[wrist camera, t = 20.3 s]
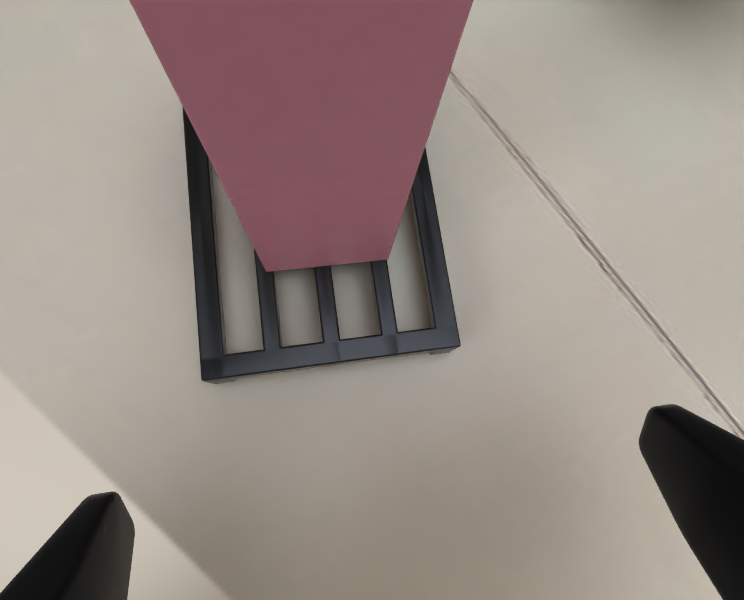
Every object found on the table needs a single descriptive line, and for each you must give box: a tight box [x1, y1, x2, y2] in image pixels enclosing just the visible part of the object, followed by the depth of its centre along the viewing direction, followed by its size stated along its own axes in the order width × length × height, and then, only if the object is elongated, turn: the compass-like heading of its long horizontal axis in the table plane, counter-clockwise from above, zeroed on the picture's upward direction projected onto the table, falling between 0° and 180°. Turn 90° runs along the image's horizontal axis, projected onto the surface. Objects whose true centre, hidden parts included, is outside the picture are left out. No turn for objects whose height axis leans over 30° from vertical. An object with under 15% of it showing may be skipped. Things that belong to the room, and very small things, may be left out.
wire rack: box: [183, 108, 460, 384], centre depth 19 cm, size 12×9×2 cm
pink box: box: [130, 0, 473, 272], centre depth 12 cm, size 5×4×13 cm
